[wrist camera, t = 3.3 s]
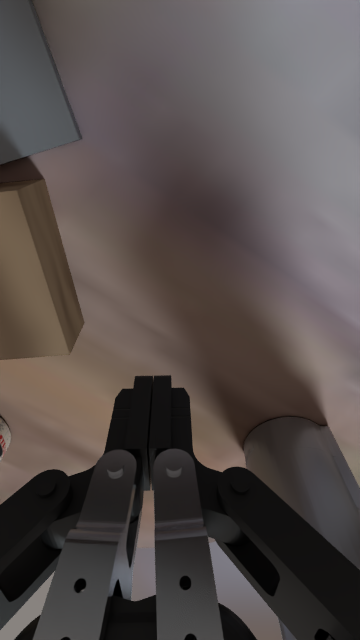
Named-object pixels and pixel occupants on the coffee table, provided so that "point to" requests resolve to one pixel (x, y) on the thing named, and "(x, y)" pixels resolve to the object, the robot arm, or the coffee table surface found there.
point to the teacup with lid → (4, 438)
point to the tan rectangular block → (34, 277)
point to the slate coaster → (30, 87)
